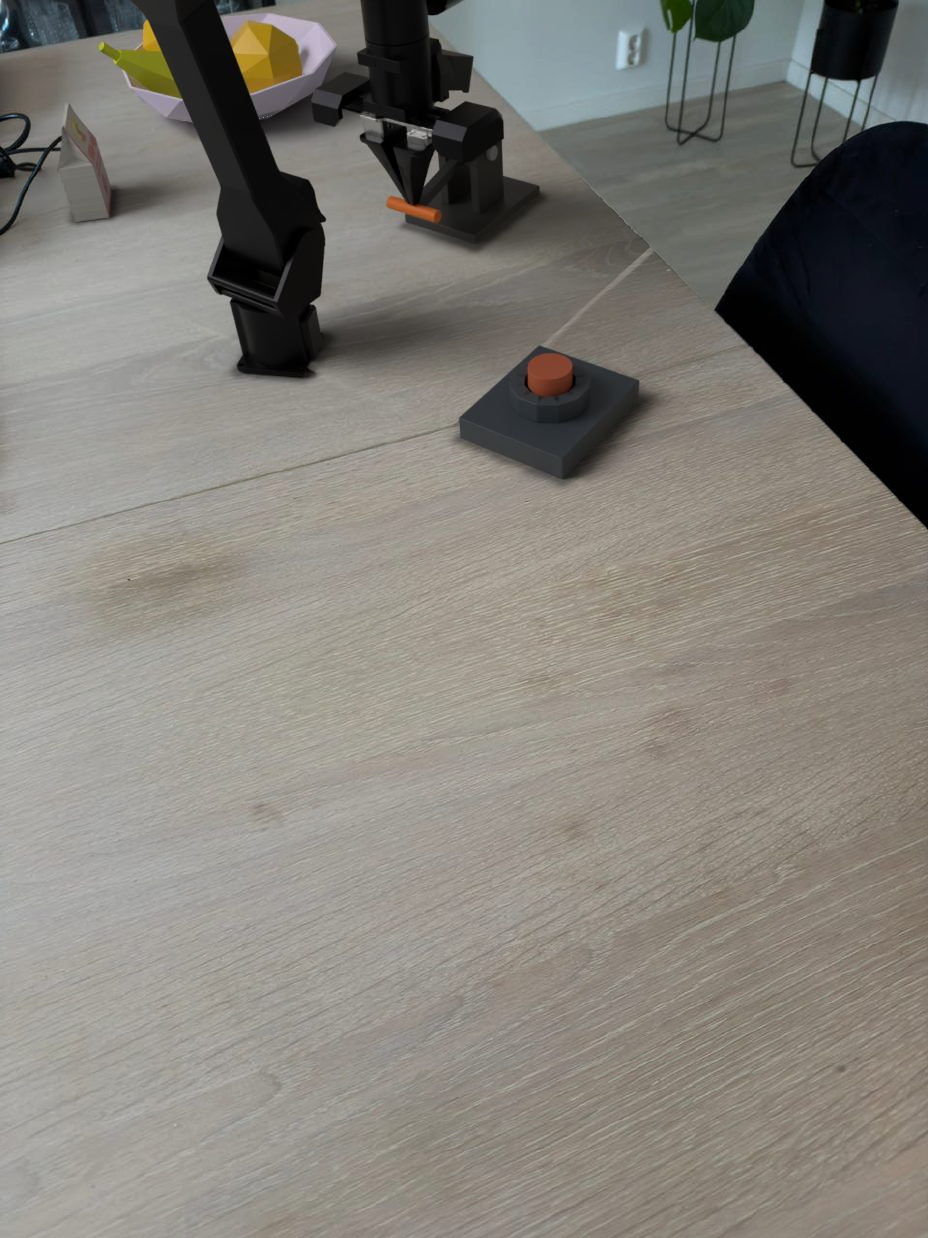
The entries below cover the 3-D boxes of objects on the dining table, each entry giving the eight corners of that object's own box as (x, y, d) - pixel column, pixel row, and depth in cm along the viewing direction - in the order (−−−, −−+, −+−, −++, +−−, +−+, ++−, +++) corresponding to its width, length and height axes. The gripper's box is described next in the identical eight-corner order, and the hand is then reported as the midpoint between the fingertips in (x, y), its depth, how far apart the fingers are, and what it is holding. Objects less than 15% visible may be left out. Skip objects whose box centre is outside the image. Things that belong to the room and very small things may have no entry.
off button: (556, 402, 87) (556, 384, 86) (519, 388, 89) (518, 370, 88) (580, 379, 89) (581, 361, 88) (543, 365, 91) (543, 347, 89)
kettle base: (475, 247, 111) (470, 163, 105) (405, 226, 115) (397, 143, 109) (539, 197, 117) (539, 114, 111) (471, 178, 121) (467, 97, 115)
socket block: (562, 480, 86) (562, 440, 84) (460, 438, 91) (457, 399, 88) (638, 401, 93) (641, 361, 90) (539, 365, 97) (538, 326, 94)
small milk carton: (75, 221, 120) (44, 130, 113) (79, 193, 125) (49, 104, 117) (109, 217, 120) (80, 126, 113) (111, 188, 125) (83, 99, 118)
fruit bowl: (308, 45, 150) (293, -48, 142) (365, 121, 133) (353, 21, 124) (104, 86, 145) (77, -7, 136) (137, 172, 127) (107, 70, 119)
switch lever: (437, 230, 107) (431, 210, 105) (389, 215, 110) (383, 195, 108) (503, 154, 111) (499, 134, 109) (456, 142, 114) (451, 121, 112)
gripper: (536, 19, 96) (538, 190, 108) (372, -13, 104) (390, 149, 116) (462, 65, 90) (472, 240, 102) (294, 27, 98) (321, 194, 110)
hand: (413, 202), depth 107 cm, fingers closed, pressing on switch lever
